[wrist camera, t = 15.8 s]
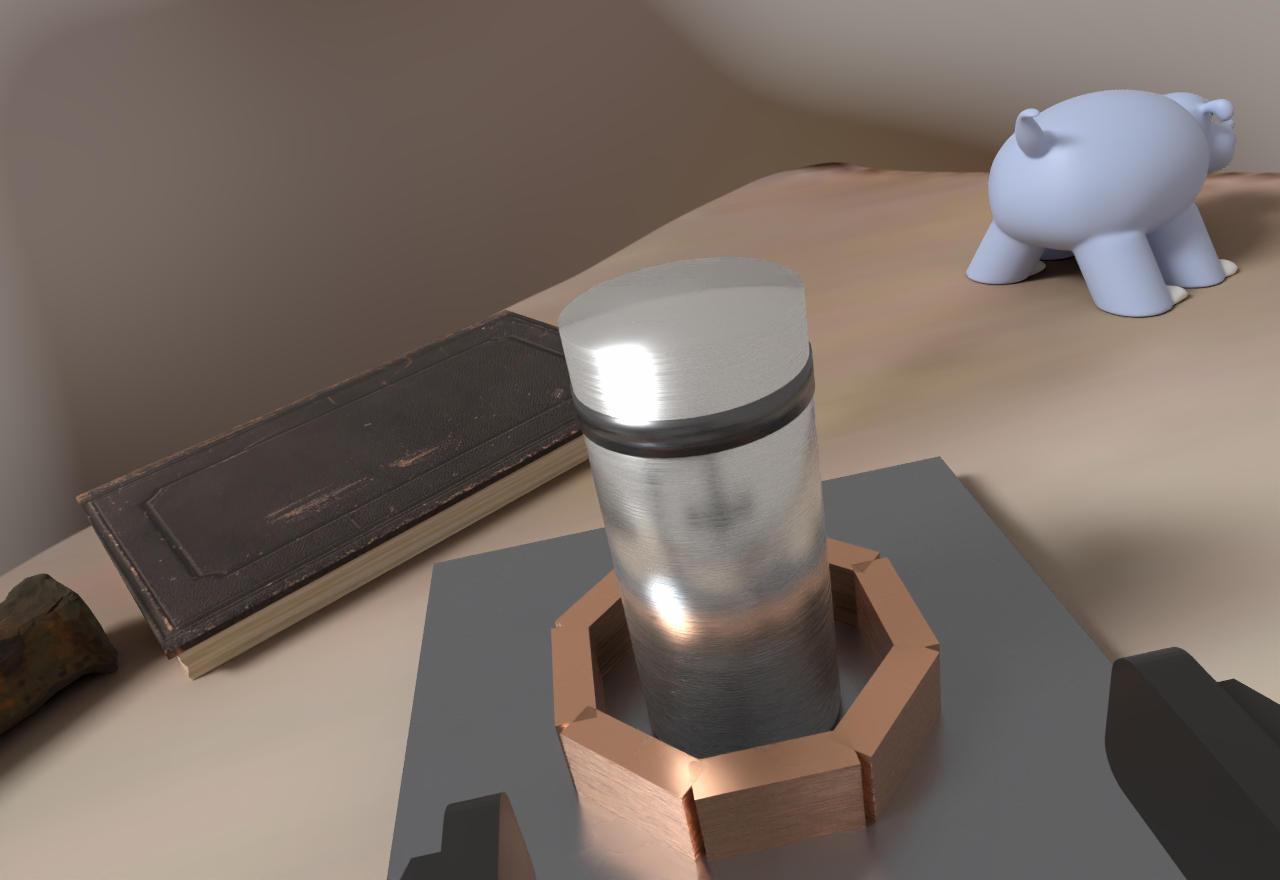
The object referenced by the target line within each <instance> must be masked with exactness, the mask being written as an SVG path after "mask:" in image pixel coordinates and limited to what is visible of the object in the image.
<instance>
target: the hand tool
mask: <svg viewBox="0 0 1280 880" xmlns="http://www.w3.org/2000/svg"><path fill="white" fill-rule="evenodd" d="M116 662H117V651H116V649H115V648H114V647H113V646H112V644H111V643H110V641H109V639H108V638H107V635H106V634H105V632H104V630H103V628H102V627H101V625H100V623H99V622H98V620H97V619H96V617H95V616H94V614H93V613H92V611H91V610H90V608H89V607H88V606H87V605H86V603H85V602H84V601H83V600H82V598H81V597H80V596H79V595H78V594H77V593H75V592H74V591H72V590H70V589H69V588H67V587H66V586H64V585H62V584H61V583H59V582H57V581H56V580H54V579H53V578H52V577H51V576H49V575H48V574H39V575H35V576H31V577H28V578H25V579H24V580H23V581H22V582H20V583H19V584H18V585H17V586H15V587H14V588H13V589H12V590H11V591H10V592H9V594H8V596H7V598H6V599H5V601H3V602H2V603H0V734H2V733H3V732H5V731H7V730H9V729H10V728H12V727H13V726H14V725H16V724H17V723H18V722H20V721H21V720H22V719H24V718H26V717H27V716H29V715H31V714H33V713H35V712H36V711H37V710H38V709H39V708H40V707H41V706H42V705H43V704H44V703H46V702H47V701H48V700H49V699H50V698H51V697H52V696H53V695H54V694H55V693H57V692H58V691H60V690H61V689H63V688H64V687H66V686H67V685H69V684H70V683H72V682H73V681H75V680H76V679H78V678H80V677H81V676H83V675H85V674H88V673H104V674H109V673H112V672H115V671H116V669H117V664H116Z"/></svg>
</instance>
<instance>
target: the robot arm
mask: <svg viewBox="0 0 1280 880" xmlns="http://www.w3.org/2000/svg"><path fill="white" fill-rule="evenodd" d="M1105 750H1106V755H1107V759H1108V762H1109V765H1110V768H1111V771H1112V773H1113V775H1114V777H1115V779H1116V781H1117V783H1118V785H1119V787H1120V788H1121V790H1122V791H1123V793H1124V794H1125V795H1126V797H1127V798H1128V799H1129V801H1130V802H1131V804H1132V805H1133V806H1134V808H1135V809H1136V811H1137V812H1138V813H1139V815H1140V816H1141V817H1142V819H1143V820H1144V822H1145V823H1146V824H1147V826H1148V827H1149V828H1150V830H1151V831H1152V833H1153V834H1154V835H1155V837H1156V838H1157V839H1158V841H1159V842H1160V844H1161V845H1162V846H1163V848H1164V849H1165V851H1166V852H1167V853H1168V855H1169V856H1170V857H1171V859H1172V860H1173V862H1174V863H1175V864H1176V866H1177V867H1178V868H1179V870H1180V871H1181V873H1182V874H1183V875H1184V877H1185V878H1186V879H1187V880H1280V704H1278V703H1276V702H1274V701H1272V700H1271V699H1269V698H1267V697H1265V696H1264V695H1262V694H1260V693H1258V692H1257V691H1255V690H1253V689H1251V688H1249V687H1248V686H1246V685H1244V684H1242V683H1241V682H1239V681H1237V680H1235V679H1230V680H1225V681H1221V682H1216V681H1215V680H1214V679H1213V678H1212V677H1211V676H1210V675H1209V674H1208V673H1207V672H1206V671H1205V670H1204V668H1203V667H1202V666H1201V665H1200V664H1199V663H1198V662H1197V661H1196V660H1195V659H1194V658H1193V657H1192V656H1191V655H1190V654H1189V653H1187V652H1186V651H1184V650H1183V649H1181V648H1178V647H1171V648H1166V649H1162V650H1157V651H1152V652H1148V653H1143V654H1139V655H1134V656H1130V657H1125V658H1121V659H1118V660H1116V661H1115V662H1114V664H1113V666H1112V671H1111V681H1110V691H1109V701H1108V711H1107V721H1106V731H1105ZM400 880H536V875H535V871H534V867H533V864H532V861H531V858H530V856H529V853H528V850H527V847H526V844H525V842H524V839H523V836H522V833H521V831H520V828H519V825H518V822H517V819H516V817H515V814H514V811H513V808H512V806H511V803H510V800H509V798H508V796H507V794H506V793H505V792H502V793H497V794H492V795H488V796H483V797H479V798H474V799H470V800H465V801H461V802H456V803H452V804H448V805H447V807H446V809H445V813H444V821H443V832H442V844H441V852H436V853H432V854H427V855H423V856H418V857H414V858H411V860H410V861H409V863H408V865H407V867H406V869H405V871H404V873H403V875H402V877H401V879H400Z"/></svg>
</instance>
